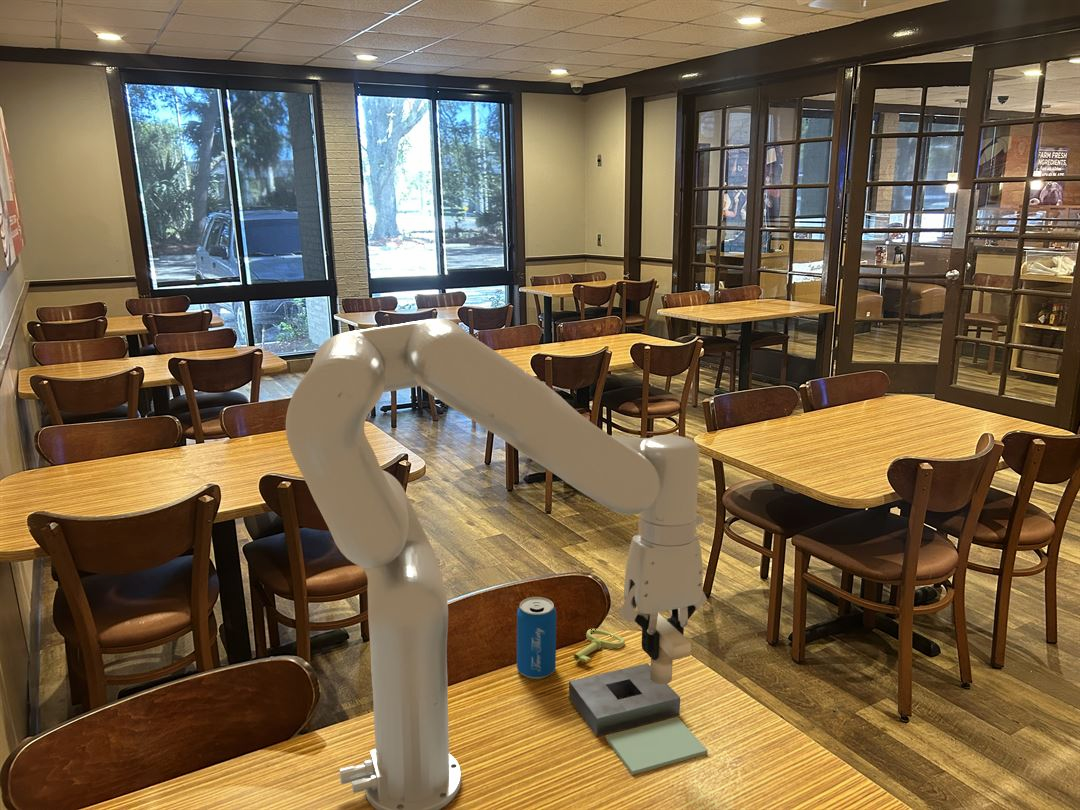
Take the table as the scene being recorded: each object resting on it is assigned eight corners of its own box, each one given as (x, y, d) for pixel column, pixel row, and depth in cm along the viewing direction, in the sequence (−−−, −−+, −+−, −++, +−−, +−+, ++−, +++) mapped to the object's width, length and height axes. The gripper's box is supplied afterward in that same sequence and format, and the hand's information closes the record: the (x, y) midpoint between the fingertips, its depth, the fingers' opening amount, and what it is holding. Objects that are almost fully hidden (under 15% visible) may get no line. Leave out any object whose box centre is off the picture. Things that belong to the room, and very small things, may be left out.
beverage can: (517, 681, 125) (517, 615, 122) (516, 660, 131) (516, 595, 129) (556, 681, 125) (557, 614, 123) (554, 659, 132) (555, 595, 129)
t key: (634, 661, 111) (635, 611, 110) (652, 657, 112) (654, 607, 111) (670, 700, 102) (672, 646, 100) (689, 695, 103) (692, 642, 102)
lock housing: (596, 736, 112) (597, 718, 111) (568, 698, 121) (569, 681, 120) (679, 715, 117) (680, 697, 116) (646, 679, 126) (647, 663, 125)
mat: (632, 775, 104) (632, 771, 104) (605, 739, 111) (605, 735, 111) (707, 753, 108) (707, 749, 108) (677, 720, 116) (677, 716, 116)
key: (571, 667, 130) (572, 655, 130) (589, 631, 142) (589, 621, 141) (613, 674, 128) (613, 663, 128) (627, 638, 140) (628, 627, 139)
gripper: (703, 510, 109) (697, 628, 113) (599, 527, 103) (597, 650, 107) (735, 529, 102) (727, 654, 106) (625, 548, 96) (622, 679, 100)
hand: (662, 651), depth 106 cm, fingers closed on t key, 3 cm apart
